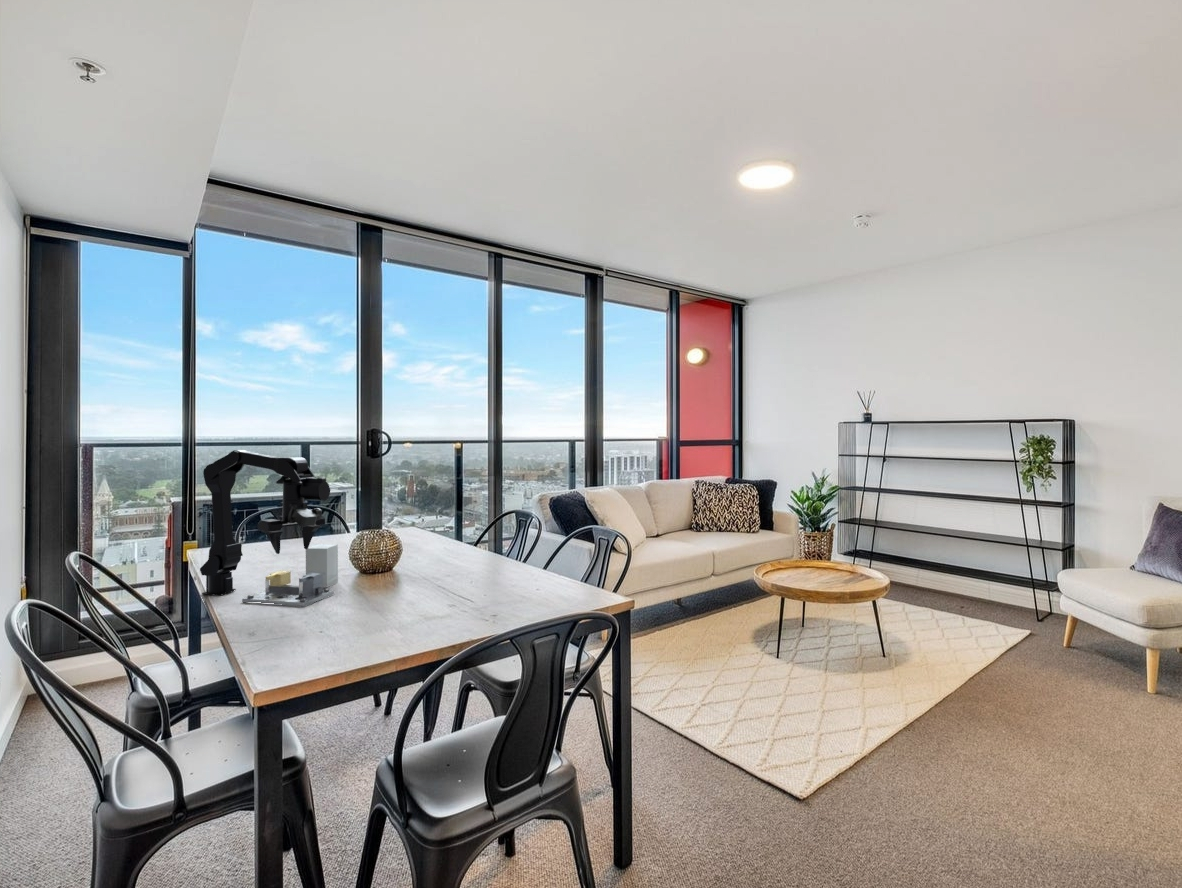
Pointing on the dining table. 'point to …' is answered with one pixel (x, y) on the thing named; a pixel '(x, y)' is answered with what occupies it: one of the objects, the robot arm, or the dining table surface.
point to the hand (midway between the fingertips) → (292, 551)
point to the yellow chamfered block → (277, 580)
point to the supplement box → (323, 562)
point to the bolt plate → (286, 600)
